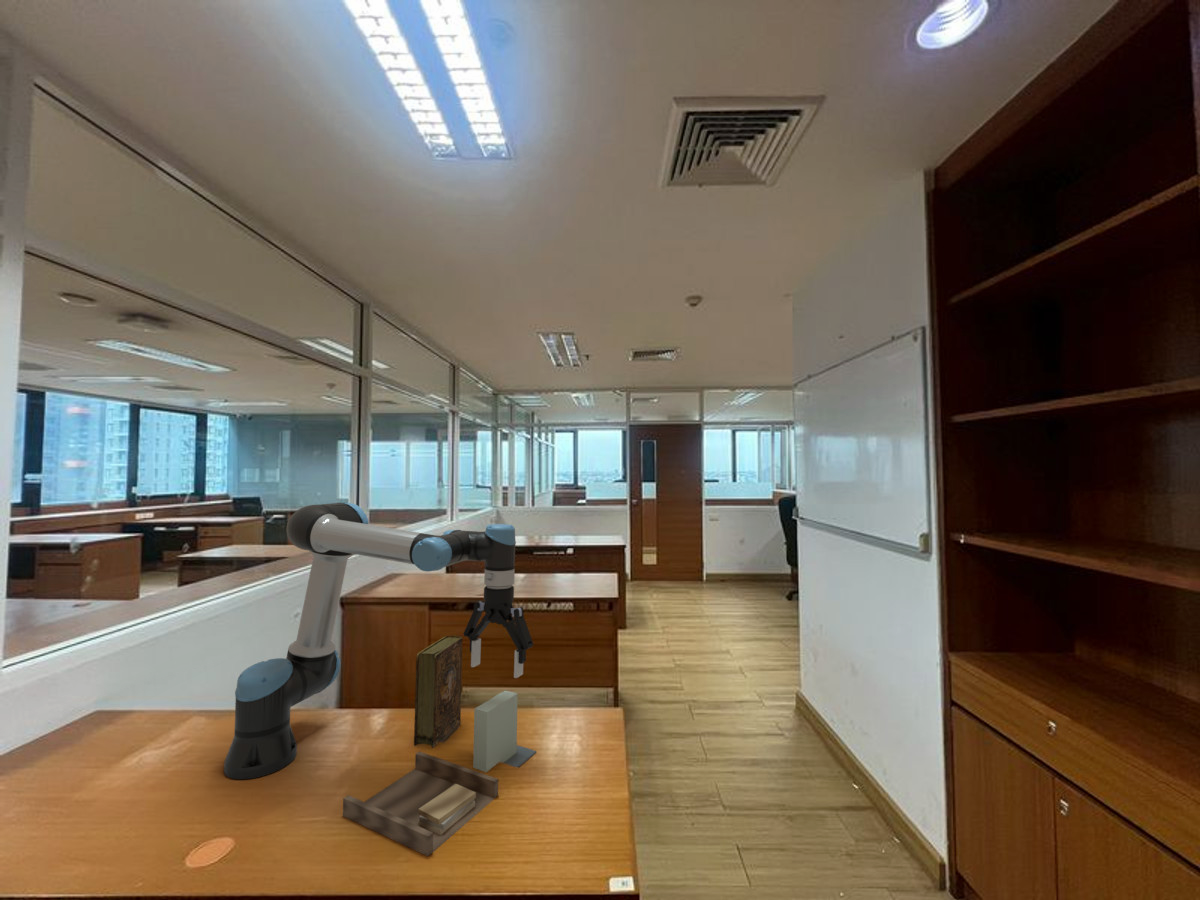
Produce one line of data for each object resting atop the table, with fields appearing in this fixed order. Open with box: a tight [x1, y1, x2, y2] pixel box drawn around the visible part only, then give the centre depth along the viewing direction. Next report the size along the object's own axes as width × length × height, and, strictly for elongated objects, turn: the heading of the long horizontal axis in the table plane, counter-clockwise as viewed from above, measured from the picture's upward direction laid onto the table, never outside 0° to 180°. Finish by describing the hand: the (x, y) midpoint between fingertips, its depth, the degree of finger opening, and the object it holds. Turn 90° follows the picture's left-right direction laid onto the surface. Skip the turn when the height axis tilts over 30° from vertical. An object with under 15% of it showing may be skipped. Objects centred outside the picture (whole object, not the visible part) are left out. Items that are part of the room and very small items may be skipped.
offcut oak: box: [418, 784, 476, 825], centre depth 106 cm, size 6×10×1 cm, turn 149°
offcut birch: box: [418, 801, 475, 835], centre depth 106 cm, size 6×10×1 cm, turn 153°
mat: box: [503, 744, 537, 769], centre depth 128 cm, size 12×18×1 cm, turn 153°
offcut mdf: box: [419, 799, 474, 830], centre depth 106 cm, size 6×10×1 cm, turn 158°
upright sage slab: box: [472, 690, 519, 773], centre depth 128 cm, size 4×12×15 cm, turn 153°
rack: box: [342, 751, 499, 857], centre depth 109 cm, size 24×20×5 cm
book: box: [413, 635, 463, 749], centre depth 141 cm, size 16×6×25 cm, turn 168°
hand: (496, 670), depth 129 cm, fingers open, 13 cm apart
